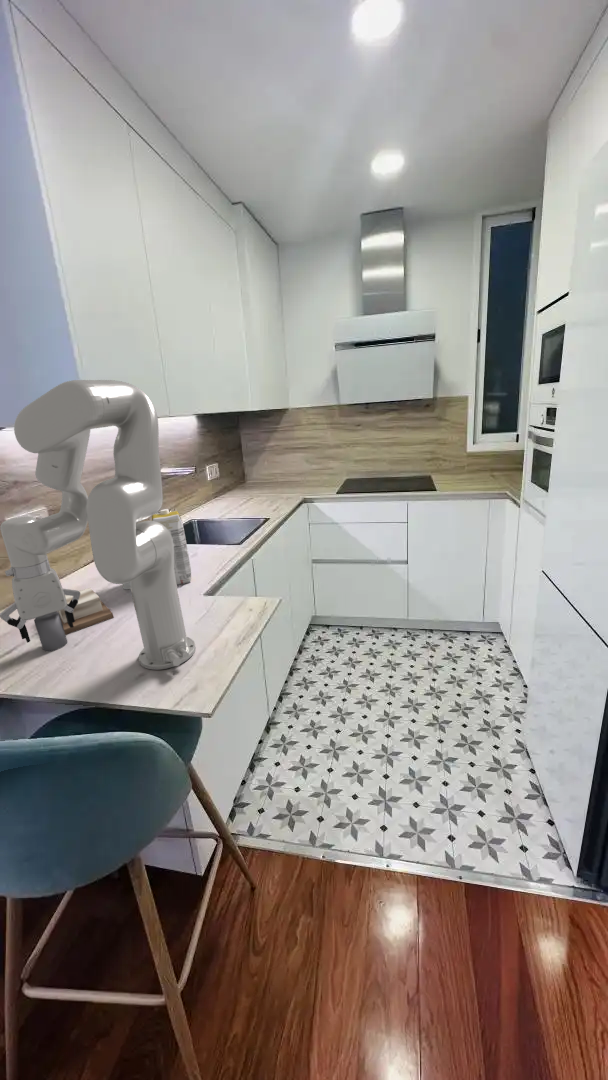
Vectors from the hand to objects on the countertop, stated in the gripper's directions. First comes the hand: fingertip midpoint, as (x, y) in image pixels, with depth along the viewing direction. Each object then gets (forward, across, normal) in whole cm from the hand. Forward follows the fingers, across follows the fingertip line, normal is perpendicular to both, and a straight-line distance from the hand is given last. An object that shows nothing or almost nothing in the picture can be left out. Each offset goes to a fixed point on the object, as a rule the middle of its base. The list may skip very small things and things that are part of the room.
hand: (49, 632), depth 109 cm
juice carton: (+4, +39, +14) cm, 42 cm away
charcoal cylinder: (+4, 0, 0) cm, 4 cm away
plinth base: (+4, +9, +12) cm, 16 cm away
